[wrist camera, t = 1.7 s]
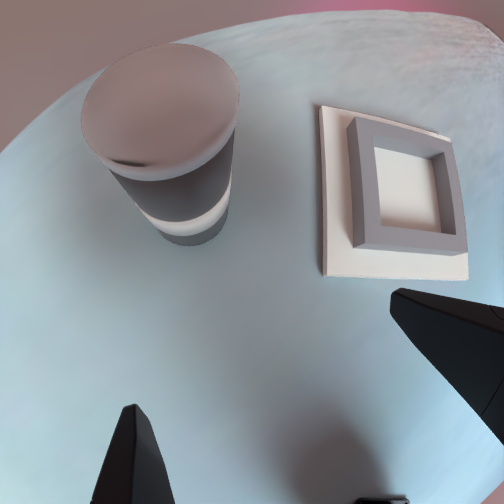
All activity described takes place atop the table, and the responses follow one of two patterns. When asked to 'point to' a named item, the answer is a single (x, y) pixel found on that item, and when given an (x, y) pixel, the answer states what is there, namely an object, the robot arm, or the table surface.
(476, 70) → the table surface
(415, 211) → the square framed plate
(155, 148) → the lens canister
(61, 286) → the table surface
